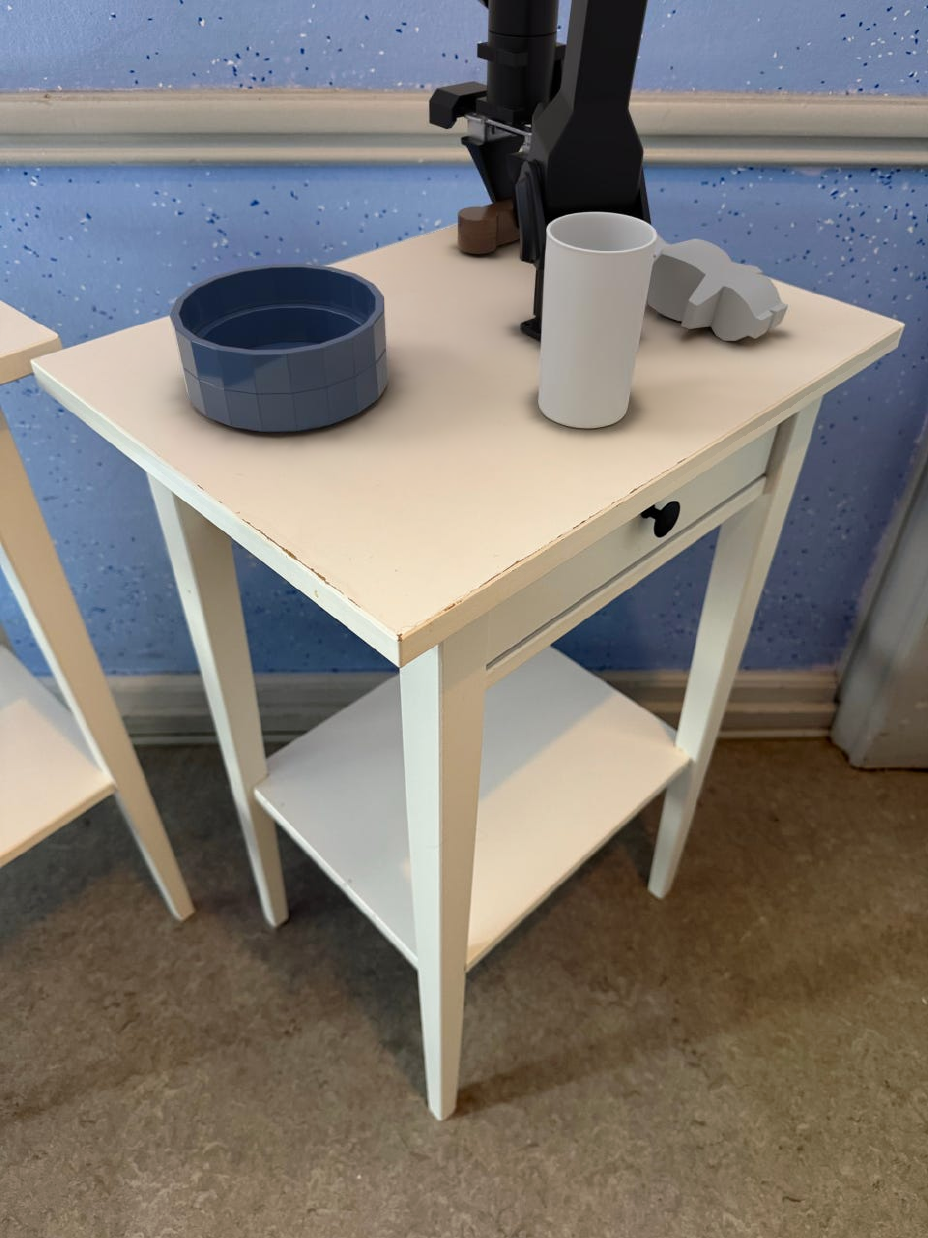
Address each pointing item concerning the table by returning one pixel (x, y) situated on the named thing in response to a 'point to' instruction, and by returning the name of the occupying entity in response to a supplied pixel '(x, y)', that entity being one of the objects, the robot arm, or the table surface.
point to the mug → (592, 315)
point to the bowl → (282, 346)
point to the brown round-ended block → (486, 227)
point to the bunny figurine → (712, 290)
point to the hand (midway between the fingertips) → (513, 224)
